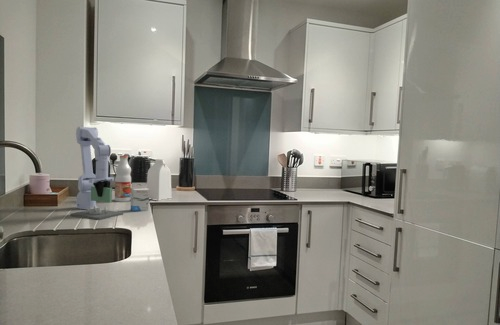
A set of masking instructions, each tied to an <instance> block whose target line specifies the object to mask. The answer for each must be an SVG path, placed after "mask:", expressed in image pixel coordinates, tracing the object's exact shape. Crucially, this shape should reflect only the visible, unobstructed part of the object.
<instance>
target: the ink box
mask: <svg viewBox="0 0 500 325" xmlns="http://www.w3.org/2000/svg"><path fill="white" fill-rule="evenodd" d="M146 187H147V182H131V200H130V211H132V212H143V211H144V212H148V211H149V206H150V205H149V204H150V203H149V202H150V200H149V189H147V188H146Z"/></svg>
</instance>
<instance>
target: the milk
mask: <svg viewBox="0 0 500 325" xmlns="http://www.w3.org/2000/svg"><path fill="white" fill-rule="evenodd" d="M146 183H147V185H146V188H147V189H149V198H151V199H157V200H161V199H167V198H172V195H173V194H172V172H171V169H170V167H168V165H166V162H165V159H159V158H156V159H155V161H154V162H153V164H152V165H151V166H150V167H149V169H148V170H147V178H146Z"/></svg>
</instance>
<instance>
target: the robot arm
mask: <svg viewBox="0 0 500 325" xmlns="http://www.w3.org/2000/svg"><path fill="white" fill-rule="evenodd" d="M75 136H76V143H77V144H79V145H80V154H81V161H82V162H81V163H82V173H83V174H81V175H80V176H79V177H78V182H77V188H78V191H79V192H78V193H77V195H76V206H75V209H78V210H79V209H80V210H85V211H87V210H88V207H90V210H92V209H94V206H96V209H99V208H100V206H97V201H91V187H93V186H94V187H95V188H96V191H97V195H98V197H102V194H103V187H105V188H109V186H110V185H111V182H115V181H114V180H115V177H114V176H109V157H110V156H111V152H112V150H111V146H110V145H109V144H106V143H105V142H104V141H103V139H102V138H101V137H99V131H98V128H97V127H89V126H77V128H76V132H75ZM91 147H92V148H93V152H94V159H95V173H94V169H93V160H92V159H93V158H92V148H91Z"/></svg>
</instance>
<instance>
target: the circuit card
mask: <svg viewBox="0 0 500 325" xmlns="http://www.w3.org/2000/svg"><path fill="white" fill-rule="evenodd" d="M91 201H96V202H101V203H108V204H109V203H112V202H113V188H112V187H108V188H105V187H103V194H102V197H98V195H97V191H96V188H95V187H94V186H93V187H91Z"/></svg>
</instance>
